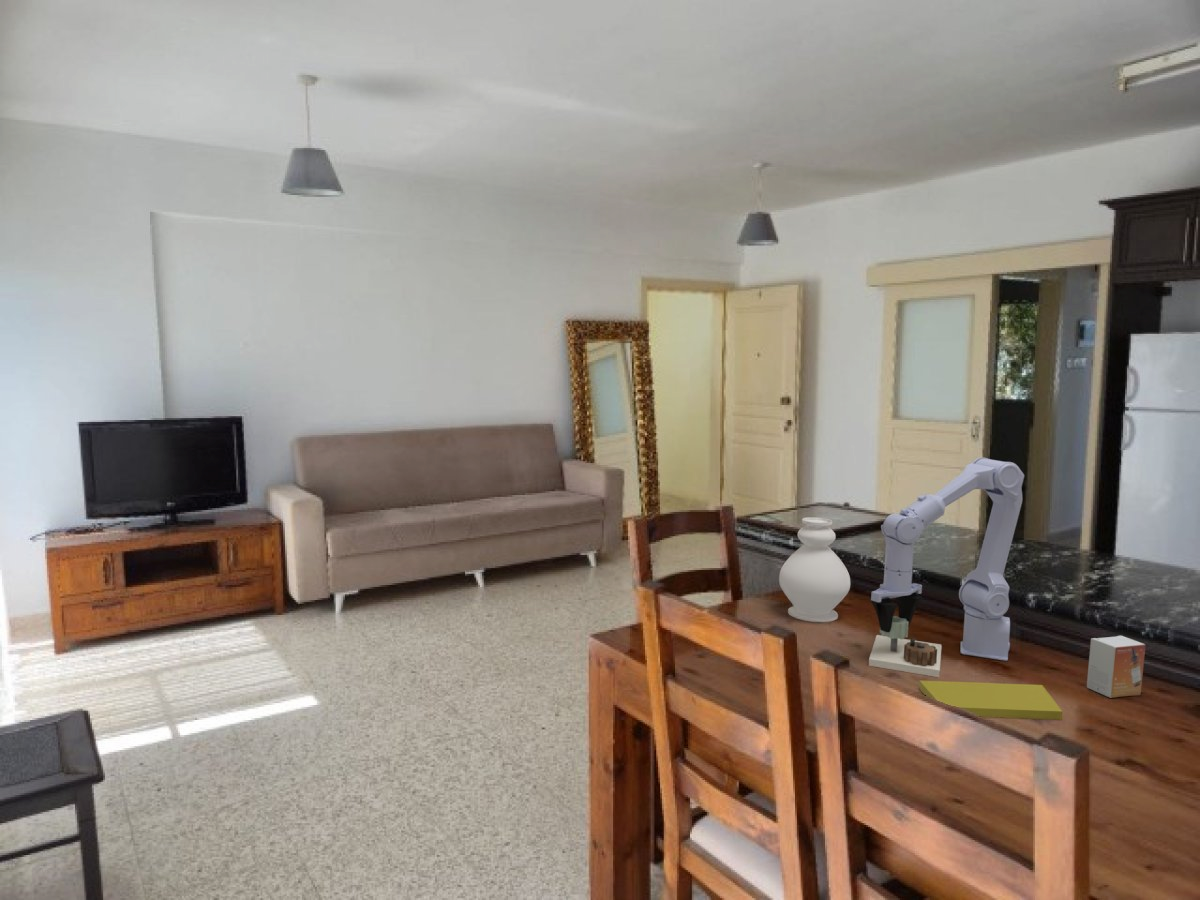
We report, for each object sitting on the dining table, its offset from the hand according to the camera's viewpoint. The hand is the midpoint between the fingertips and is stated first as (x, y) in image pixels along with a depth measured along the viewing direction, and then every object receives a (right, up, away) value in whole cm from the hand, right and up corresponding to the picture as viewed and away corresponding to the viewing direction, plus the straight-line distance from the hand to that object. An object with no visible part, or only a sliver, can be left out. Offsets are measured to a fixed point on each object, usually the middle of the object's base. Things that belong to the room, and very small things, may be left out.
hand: (894, 628), depth 172 cm
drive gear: (+3, -6, -5) cm, 8 cm away
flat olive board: (+10, -10, -23) cm, 27 cm away
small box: (+38, -9, -16) cm, 42 cm away
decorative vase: (-10, -3, +30) cm, 32 cm away
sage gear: (0, -1, 0) cm, 1 cm away
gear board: (+3, -7, 0) cm, 7 cm away
